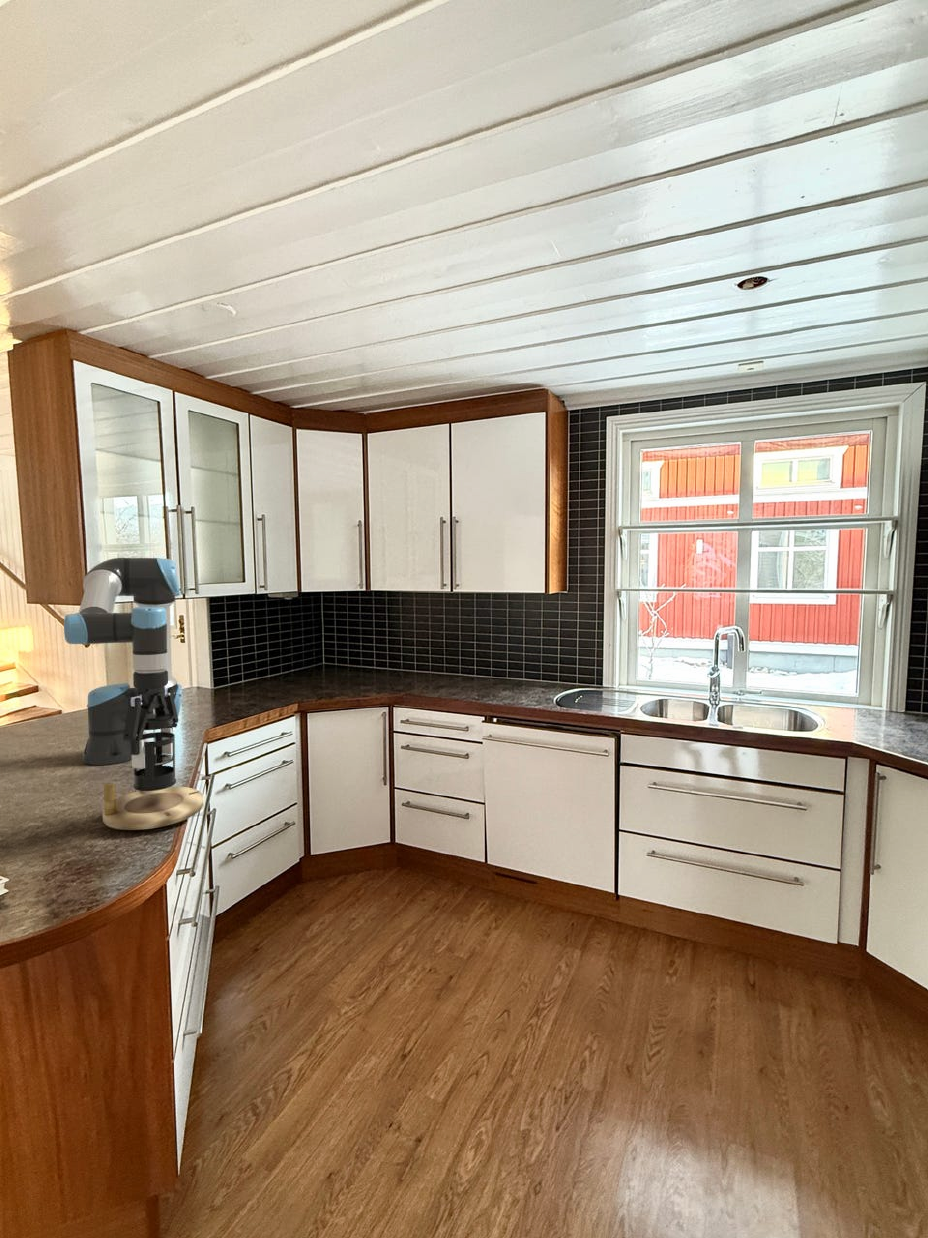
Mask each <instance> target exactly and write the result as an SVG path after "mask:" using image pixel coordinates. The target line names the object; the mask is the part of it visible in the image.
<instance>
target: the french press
mask: <svg viewBox="0 0 928 1238" xmlns="http://www.w3.org/2000/svg"><path fill="white" fill-rule="evenodd" d="M154 695H155V696H159V695H163V694H162V692H160V693H156V694H154ZM173 718H174V715H173V714H157V713H155V708H154V709H153V714H149V716H148V720H147V723H146V726H145V729H144V731H153V732H149V733H143V735H142V738H141V740H148V739H153V741H144V759H145V767H144V768H139V769H138V768H133V777H134V778H133V780H134V783H133V789H134V790H135V791H156V790H162V789H166V788H169V787H174V786H175V784H176V783H177V779H176V749H175V748H176V743H175V742H176V740H175V739H176V737H175V736H176V735H175V734H174V733H168V732H161V731H158V732H156V730H161V729H163V728H167V727H170V726H172V719H173ZM162 737H166V738H169V739H166V740H162ZM171 743H173V753H172V754H162V746H164V745H168V744H171ZM171 762H172V766H171V765H167V764H170V763H171ZM137 769H138V770H137Z"/></svg>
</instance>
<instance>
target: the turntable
mask: <svg viewBox="0 0 928 1238" xmlns="http://www.w3.org/2000/svg"><path fill="white" fill-rule="evenodd" d="M116 784H117V783H116V782H107V783H105V784H103V799H104V800H103V803H104V807H103V808H102V822H103V824H105V826H107V827H109V828H113V829H116V830H122V831H123V830H124V831H127V830H128V831H137V830H138V831H141V830H150V829H155V828H162V827H166V826H170V825H174V824H177V823H180V822H183V821H185V820H187V819H189V818H192V817H194V816H195V815H197V814H198V813H199V812H200V811H201V810H202V809H203V807H204V795H203V793H202V792H201V791H200V790H198V789H197V788H192V787H186V786H185V787H184V786H171V787H169V788H166V789H162V790H156V791H138V790H136V791H133V792H131V793H127V794H125V795H122V796H119V797H117V788H116V787H117V785H116Z"/></svg>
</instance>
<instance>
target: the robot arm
mask: <svg viewBox="0 0 928 1238" xmlns="http://www.w3.org/2000/svg"><path fill="white" fill-rule="evenodd" d="M82 584H83V590H84V594H83V597H82V600H81V603H80V606H79V610H78V612H76V613H68V614H66V615H65V616H64V619H63V635H64V640H65V642H66V643H67V644H70V645H82V646H84V645H94V644H95V645H97V644H120V643H122V644H125V643H126V644H127V643H132V669H133V670H134V672H133V674H132V676H133V677H132V680H133V682H132V683H133V687H131V685H130V684H129V683H127V682H122V683H121V682H120V683H113V684H107V685H103V686H98V687H96V688H93V689H92V690H90V692H88V694H87V704H86V708H87V717H88V718H87V721H88V724H87V725H88V738H87V741H86V744H85V747H84V751H83V753H82V762H83V763H84V764H86V765H91V766H105V765H106V766H108V765H114V764H119V763H124V762H128V761H131V768H133V769H134V768H137V769H143V768H145V759H144V756H145V747H144V742H145V739H143V740H141V738H142V735H143V734H144V731H145V730H144V729H145V726H146V723H147V720H148V716H149V714H153V709H154V708H155V713H157V714H173V715H174V718H173V719H172V726H170V727H167V728H163V729H160V732H168V733H173V731H174V729H173V728H177V727H178V723H179V720H180V719H179V715H180V712H181V707H182V706H181V703H182V694H183V685H181V684H178V680H177V678H175V677H174V676H172V675H173V674H172V673H173V672H172V671H173V669H172V636H171V635H172V634H171V606H172V605H173V604H174V603H176V597H178V596H181V591H180V586H179V579H178V573H177V568H176V563H175V562H174V560H172V559H170V558H161V557H116V558H115V557H114V558H111V559H107V560H104V561H101V562H100V563H98V564H96V565H95V566H93V567H92V568H90V569H89V571H87V573H86V574H85V576H84V579H83V582H82ZM125 596H126V597H133V598H132V599H133V603H134V604H136V605H137V606H135V607H134V608H132V610H131V612H114V610H115V604H116V599H117V597H125ZM160 692H162V694H163V695H159V696H155V695H154V694H156V693H160ZM173 734H174V733H173ZM166 739H169V738H166V737H162V740H166ZM162 754H168V755H173V743H171V744H168V745H164V746H162Z"/></svg>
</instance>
